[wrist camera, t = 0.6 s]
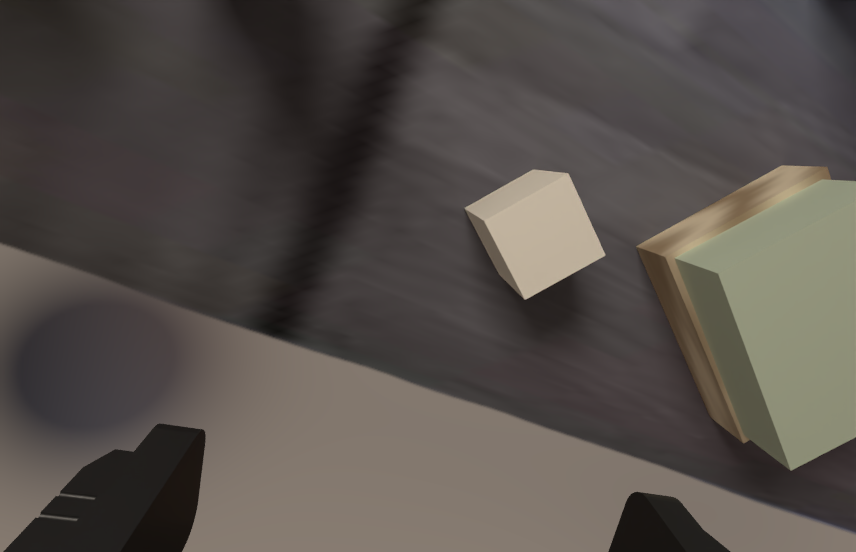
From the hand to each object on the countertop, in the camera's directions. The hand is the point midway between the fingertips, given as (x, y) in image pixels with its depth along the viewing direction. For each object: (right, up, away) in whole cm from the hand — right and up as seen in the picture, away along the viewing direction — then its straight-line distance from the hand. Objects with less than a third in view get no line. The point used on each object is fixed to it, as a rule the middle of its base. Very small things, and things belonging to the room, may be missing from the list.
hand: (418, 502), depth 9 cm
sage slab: (+23, +2, +23) cm, 32 cm away
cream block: (+6, +8, +23) cm, 25 cm away
